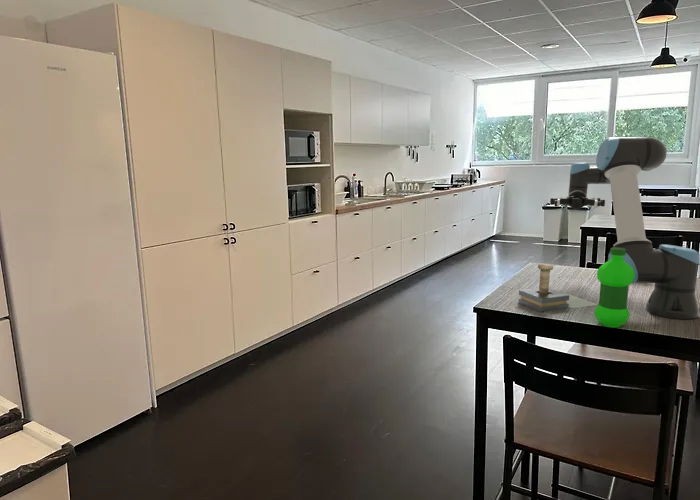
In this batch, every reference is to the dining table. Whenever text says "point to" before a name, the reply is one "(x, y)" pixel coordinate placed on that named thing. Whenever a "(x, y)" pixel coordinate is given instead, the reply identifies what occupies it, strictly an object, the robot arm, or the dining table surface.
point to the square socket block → (543, 299)
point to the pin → (544, 278)
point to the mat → (578, 302)
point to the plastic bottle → (614, 289)
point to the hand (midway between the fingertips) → (576, 203)
